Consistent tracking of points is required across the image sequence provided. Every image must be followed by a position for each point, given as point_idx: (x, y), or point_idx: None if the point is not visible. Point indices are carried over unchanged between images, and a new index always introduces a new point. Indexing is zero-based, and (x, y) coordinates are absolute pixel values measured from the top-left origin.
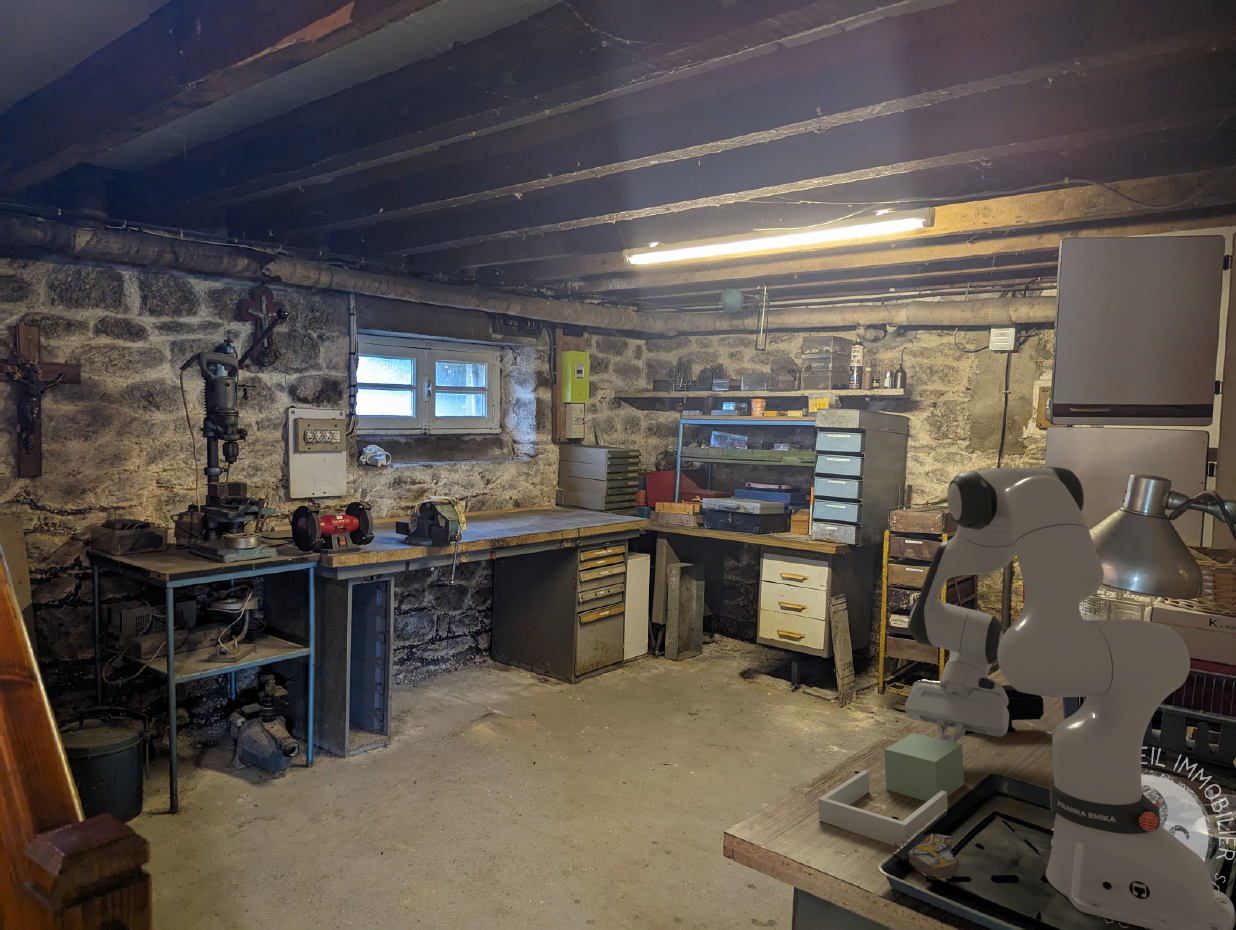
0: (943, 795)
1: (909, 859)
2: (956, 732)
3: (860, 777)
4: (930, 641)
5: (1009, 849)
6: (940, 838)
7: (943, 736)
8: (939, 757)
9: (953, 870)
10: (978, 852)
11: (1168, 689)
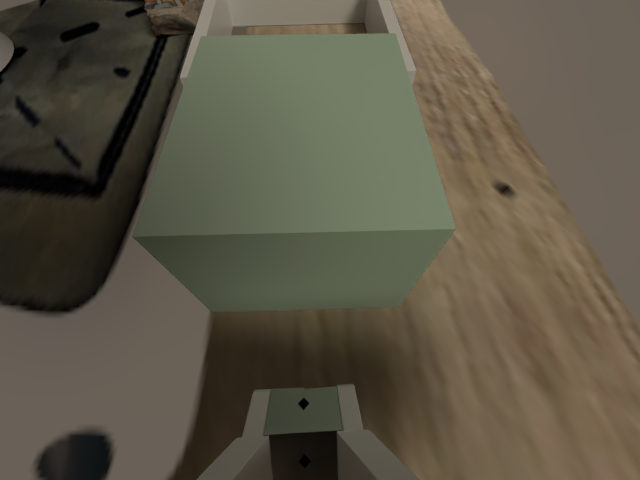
0: (184, 66)
1: None
2: (220, 467)
3: None
4: None
5: (69, 85)
6: (162, 1)
7: (325, 407)
8: (198, 63)
9: None
10: (121, 58)
11: None
